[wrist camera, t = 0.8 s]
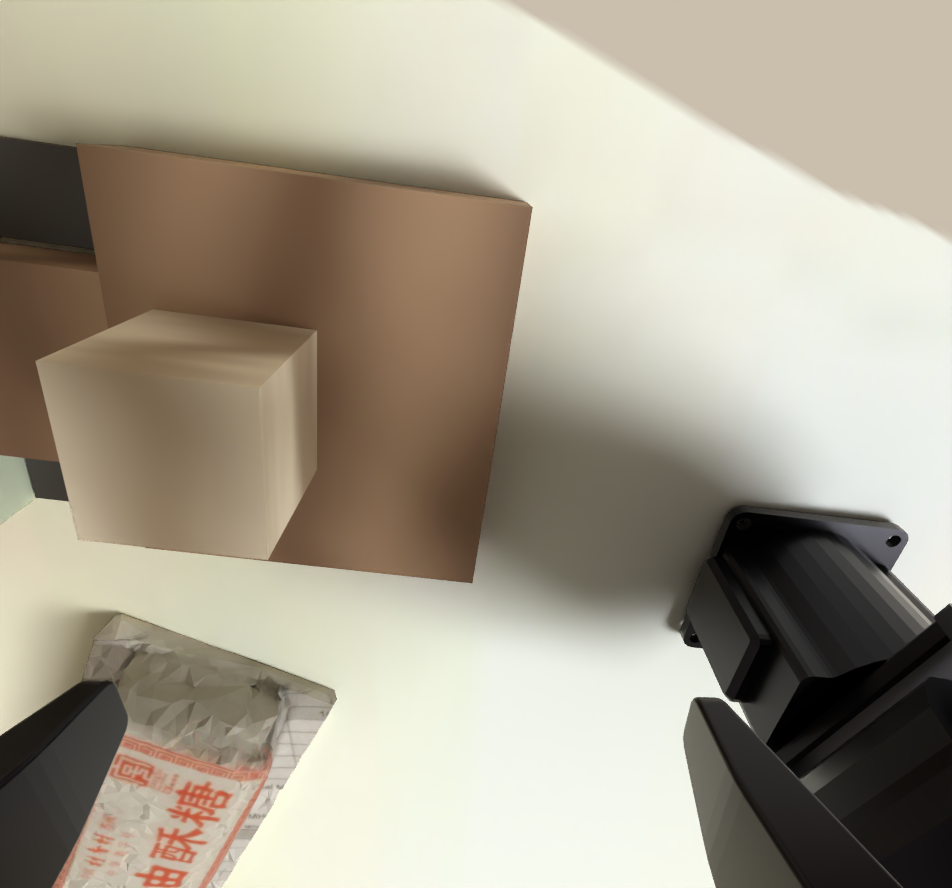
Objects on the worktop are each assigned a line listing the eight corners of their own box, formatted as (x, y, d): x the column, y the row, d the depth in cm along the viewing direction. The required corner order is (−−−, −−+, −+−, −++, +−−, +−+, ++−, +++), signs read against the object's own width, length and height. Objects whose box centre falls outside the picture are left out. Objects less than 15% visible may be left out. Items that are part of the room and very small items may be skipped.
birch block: (317, 330, 15) (258, 388, 11) (317, 469, 17) (267, 559, 13) (152, 309, 15) (35, 361, 11) (171, 452, 17) (78, 540, 13)
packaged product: (33, 699, 19) (313, 788, 21) (117, 598, 23) (342, 679, 25) (-26, 933, 26) (186, 982, 28) (46, 823, 30) (226, 872, 32)
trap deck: (526, 202, 16) (537, 212, 12) (473, 547, 21) (471, 614, 18) (-347, 79, 14) (-577, 56, 11) (-167, 476, 20) (-289, 534, 17)
